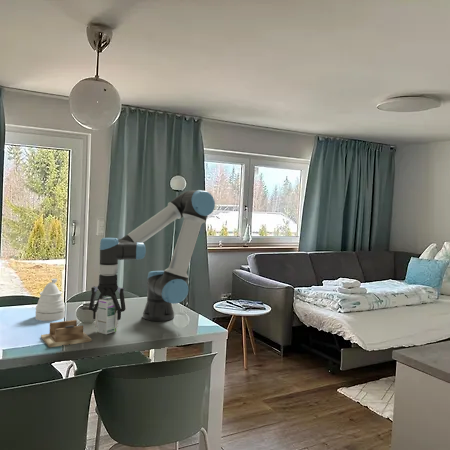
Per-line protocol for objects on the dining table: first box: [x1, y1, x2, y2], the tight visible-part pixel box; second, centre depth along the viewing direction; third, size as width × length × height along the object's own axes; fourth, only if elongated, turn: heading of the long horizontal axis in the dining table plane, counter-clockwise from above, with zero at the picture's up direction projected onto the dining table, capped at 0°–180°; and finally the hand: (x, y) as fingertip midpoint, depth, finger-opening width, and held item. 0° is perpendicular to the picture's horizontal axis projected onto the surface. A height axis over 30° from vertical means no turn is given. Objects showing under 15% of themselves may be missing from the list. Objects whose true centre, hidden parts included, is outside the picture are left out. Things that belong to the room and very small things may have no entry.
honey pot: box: [35, 278, 66, 322], centre depth 205 cm, size 13×13×18 cm
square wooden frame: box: [40, 319, 93, 348], centre depth 174 cm, size 16×14×7 cm
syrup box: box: [96, 296, 117, 335], centre depth 186 cm, size 6×6×14 cm
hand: (106, 326), depth 186 cm, fingers closed on syrup box, 8 cm apart
